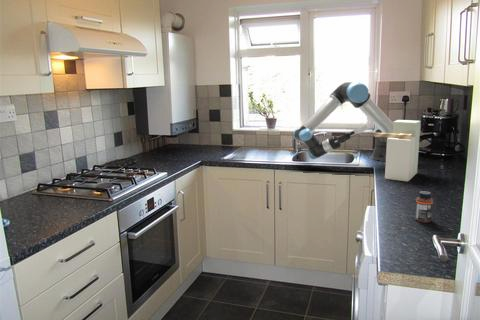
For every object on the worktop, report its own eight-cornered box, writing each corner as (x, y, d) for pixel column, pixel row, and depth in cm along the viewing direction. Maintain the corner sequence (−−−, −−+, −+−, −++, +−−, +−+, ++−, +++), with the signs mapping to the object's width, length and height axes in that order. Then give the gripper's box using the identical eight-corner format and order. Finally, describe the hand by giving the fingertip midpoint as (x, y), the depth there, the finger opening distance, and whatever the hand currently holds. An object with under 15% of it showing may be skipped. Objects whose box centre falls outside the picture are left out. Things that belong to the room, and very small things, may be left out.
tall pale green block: (384, 178, 223) (387, 123, 217) (395, 170, 241) (398, 119, 235) (407, 181, 217) (411, 124, 211) (416, 173, 234) (420, 120, 228)
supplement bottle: (418, 216, 162) (420, 189, 160) (434, 220, 158) (436, 192, 156) (411, 220, 158) (414, 192, 156) (427, 224, 154) (429, 195, 152)
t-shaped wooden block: (373, 137, 225) (373, 133, 225) (376, 135, 230) (376, 131, 230) (409, 139, 215) (410, 135, 214) (412, 138, 220) (412, 133, 219)
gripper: (341, 146, 253) (373, 131, 241) (326, 153, 232) (359, 137, 220) (336, 135, 253) (367, 120, 241) (320, 141, 233) (353, 124, 221)
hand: (363, 128), depth 231 cm, fingers open, 13 cm apart
